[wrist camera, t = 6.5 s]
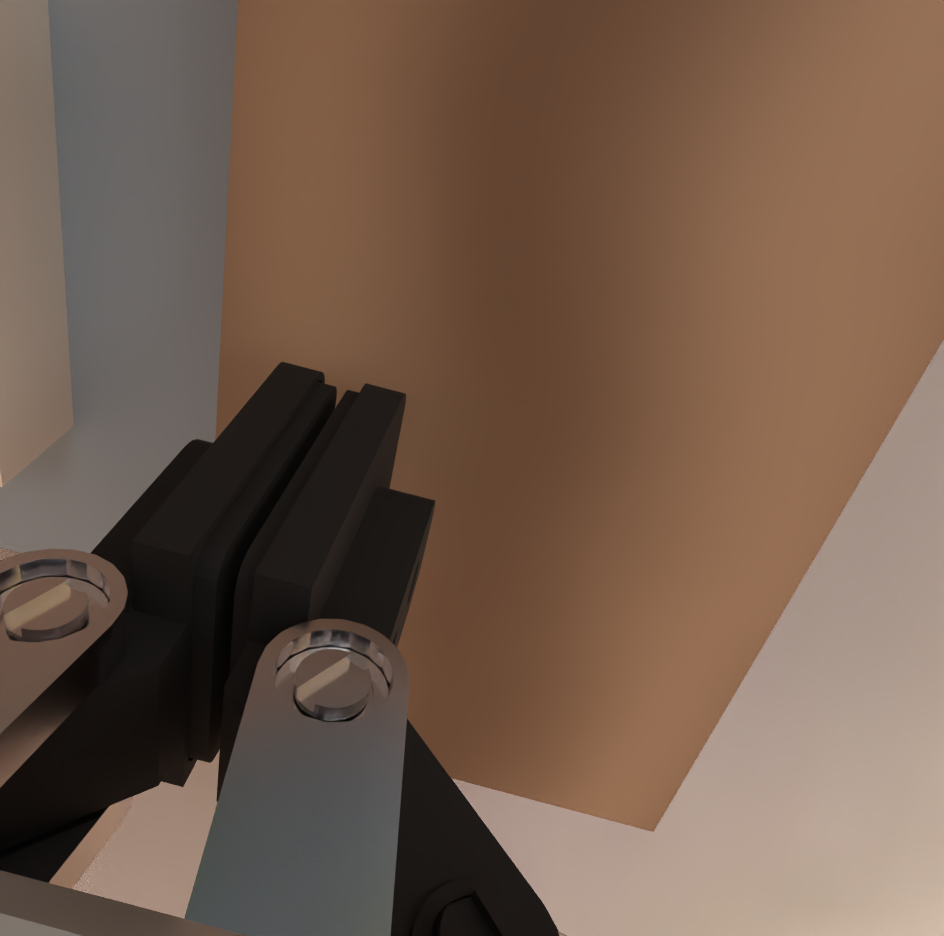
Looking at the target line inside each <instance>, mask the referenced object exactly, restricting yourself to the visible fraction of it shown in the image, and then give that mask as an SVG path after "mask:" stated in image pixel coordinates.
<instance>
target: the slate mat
mask: <svg viewBox="0 0 944 936" xmlns="http://www.w3.org/2000/svg"><path fill="white" fill-rule="evenodd" d="M48 11H49V27H50V43H51V60H52V76H53V92H54V109H55V125H56V141H57V158H58V174H59V190H60V207H61V223H62V239H63V256H64V272H65V289H66V305H67V321H68V338H69V354H70V370H71V387H72V403H73V419H74V426H73V427H72V428H71V429H69V430H68V431H67V432H66V433H65V434H64V435H62V436H61V437H60V438H59V439H58V440H57V441H56V442H54V443H53V444H52V445H51V446H50V447H49V448H47V449H46V450H45V451H44V452H43V453H42V454H40V455H39V456H38V457H37V458H36V459H35V460H33V461H32V462H31V463H30V464H29V465H28V466H27V467H25V468H24V469H23V470H22V471H21V472H20V473H18V474H17V475H16V476H15V477H14V478H13V479H11V480H10V481H9V482H8V483H7V484H6V485H4V486H3V487H0V548H4V549H7V550H11V551H15V552H19V553H24V552H29V551H37V550H44V549H75V550H79V551H83V552H87V553H91V552H92V551H93V549H94V548H95V547H96V546H97V545H98V544H99V543H100V542H101V540H102V539H103V538H104V537H105V536H106V535H107V534H108V533H109V531H110V530H111V529H112V528H113V527H114V526H115V525H116V523H117V522H118V521H119V520H120V519H121V518H122V517H123V516H124V514H125V513H126V512H127V511H128V510H129V509H130V508H131V507H132V505H133V504H134V503H135V502H136V501H137V500H138V499H139V497H140V496H141V495H142V494H143V493H144V492H145V491H146V490H147V488H148V487H149V486H150V485H151V484H152V483H153V482H154V481H155V479H156V478H157V477H158V476H159V475H160V474H161V473H162V472H163V470H164V469H165V468H166V467H167V466H168V465H169V464H170V462H171V461H172V460H173V459H174V458H175V457H176V456H177V455H178V453H179V452H180V451H181V450H182V449H183V448H184V447H185V446H186V445H187V444H188V443H189V442H190V441H192V440H195V439H200V440H204V441H207V442H211V443H213V442H214V441H215V437H216V417H217V398H218V379H219V359H220V340H221V321H222V301H223V282H224V262H225V243H226V224H227V204H228V185H229V166H230V146H231V127H232V108H233V88H234V69H235V50H236V30H237V11H238V0H48Z"/></svg>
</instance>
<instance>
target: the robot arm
mask: <svg viewBox="0 0 944 936" xmlns="http://www.w3.org/2000/svg"><path fill="white" fill-rule="evenodd" d="M336 397H337V388H336V386H332V385H328V384H325V375H324V373H323V372H321V371H317V370H313V369H309V368H305V367H301V366H297V365H293V364H290V363H286V362H281V363H280V364H278V366H277V367H276V368H275V369H274V370H273V372H272V373H271V374H270V375H269V376H268V378H267V379H266V380H265V381H264V382H263V384H262V385H261V386H260V387H259V388H258V390H257V391H256V392H255V393H254V394H253V396H252V397H251V398H250V399H249V400H248V402H247V403H246V404H245V405H244V406H243V408H242V409H241V410H240V411H239V412H238V414H237V415H236V416H235V417H234V418H233V420H232V421H231V422H230V423H229V424H228V426H227V427H226V428H225V429H224V430H223V432H222V433H221V434H220V435H219V436H218V438H217V439H216V440H215V441H214V442H213V443H211V442H207V441H204V440H200V439H195V440H192V441H190V442H189V443H188V444H187V445H186V446H185V447H184V448H183V449H182V450H181V451H180V452H179V453H178V455H177V456H176V457H175V458H174V459H173V460H172V461H171V462H170V464H169V465H168V466H167V467H166V468H165V469H164V470H163V472H162V473H161V474H160V475H159V476H158V477H157V478H156V479H155V481H154V482H153V483H152V484H151V485H150V486H149V487H148V488H147V490H146V491H145V492H144V493H143V494H142V495H141V496H140V497H139V499H138V500H137V501H136V502H135V503H134V504H133V505H132V507H131V508H130V509H129V510H128V511H127V512H126V513H125V514H124V516H123V517H122V518H121V519H120V520H119V521H118V522H117V523H116V525H115V526H114V527H113V528H112V529H111V530H110V531H109V533H108V534H107V535H106V536H105V537H104V538H103V539H102V540H101V542H100V543H99V544H98V545H97V546H96V547H95V548H94V549H93V551H92V552H91V553H87V552H83V551H79V550H75V549H44V550H37V551H29V552H24V553H21V554H18V555H15V556H12V557H9V558H6V559H3V560H1V561H0V936H567V935H565V934H563V933H561V932H559V931H558V929H557V927H556V925H555V924H554V922H553V920H552V918H551V916H550V915H549V913H548V911H547V909H546V907H545V906H544V904H543V903H542V901H541V900H540V898H539V897H538V896H537V894H536V893H535V892H534V890H533V889H532V888H531V886H530V885H529V883H528V882H527V881H526V879H525V878H524V877H523V875H522V874H521V873H520V871H519V870H518V869H517V867H516V866H515V864H514V863H513V862H512V860H511V859H510V858H509V856H508V855H507V854H506V852H505V851H504V850H503V848H502V847H501V845H500V844H499V843H498V841H497V840H496V839H495V837H494V836H493V835H492V833H491V832H490V830H489V829H488V828H487V826H486V825H485V824H484V822H483V821H482V820H481V818H480V817H479V816H478V814H477V813H476V811H475V810H474V809H473V807H472V806H471V805H470V803H469V802H468V801H467V799H466V798H465V796H464V795H463V794H462V792H461V791H460V790H459V788H458V787H457V786H456V784H455V783H454V782H453V780H452V779H451V777H450V776H449V775H448V773H447V772H446V771H445V769H444V768H443V767H442V765H441V764H440V763H439V761H438V760H437V758H436V757H435V756H434V754H433V753H432V752H431V750H430V749H429V748H428V746H427V745H426V743H425V742H424V741H423V739H422V738H421V737H420V735H419V734H418V733H417V731H416V730H415V729H414V727H413V726H412V724H411V723H410V722H409V720H408V719H407V710H408V697H409V675H408V667H407V664H406V662H405V660H404V659H403V657H402V655H401V653H400V651H399V649H398V648H397V646H398V643H399V640H400V637H401V633H402V630H403V627H404V624H405V620H406V617H407V614H408V611H409V607H410V604H411V600H412V597H413V593H414V590H415V586H416V583H417V579H418V575H419V571H420V568H421V564H422V560H423V556H424V552H425V547H426V543H427V539H428V535H429V530H430V526H431V522H432V517H433V513H434V508H435V500H431V499H427V498H424V497H420V496H416V495H412V494H408V493H404V492H400V491H397V490H393V489H389V488H390V483H391V478H392V472H393V467H394V462H395V457H396V452H397V446H398V441H399V436H400V431H401V425H402V420H403V415H404V410H405V404H406V393H402V392H398V391H394V390H390V389H386V388H382V387H379V386H375V385H371V384H367V383H365V385H364V386H363V387H362V389H361V391H360V393H359V392H355V391H351V390H347V391H346V392H345V393H344V395H343V397H342V398H341V400H340V402H339V403H338V405H337V406H336V408H335V405H336ZM219 749H220V757H219V772H218V788H217V802H218V803H217V807H216V810H215V814H214V817H213V821H212V824H211V828H210V831H209V835H208V838H207V842H206V845H205V849H204V852H203V856H202V859H201V863H200V866H199V870H198V873H197V877H196V880H195V884H194V887H193V890H192V894H191V897H190V901H189V904H188V908H187V911H186V915H185V918H184V919H182V918H178V917H175V916H171V915H167V914H164V913H160V912H156V911H152V910H149V909H145V908H141V907H137V906H134V905H130V904H126V903H123V902H119V901H115V900H111V899H107V898H104V897H100V896H96V895H92V894H88V893H85V892H81V891H77V890H73V889H72V888H73V887H74V885H75V884H76V883H77V881H78V880H79V879H80V878H81V876H82V875H83V874H84V872H85V871H86V870H87V868H88V867H89V866H90V864H91V863H92V862H93V860H94V859H95V858H96V857H97V855H98V854H99V853H100V851H101V850H102V849H103V847H104V846H105V845H106V843H107V842H108V841H109V840H110V838H111V837H112V836H113V834H114V833H115V832H116V830H117V829H118V828H119V826H120V825H121V824H122V822H123V820H124V818H125V816H126V815H127V813H128V811H129V809H130V807H131V802H132V797H133V796H134V795H137V794H139V793H142V792H144V791H146V790H149V789H151V788H154V787H156V786H158V785H159V784H160V782H161V781H162V782H166V783H170V784H174V785H178V786H182V787H183V786H184V784H185V782H186V780H187V778H188V777H189V775H190V773H191V771H192V769H193V767H194V765H195V763H196V761H197V760H201V761H205V762H209V763H210V762H212V761H213V759H214V758H215V756H216V755H217V753H218V751H219Z"/></svg>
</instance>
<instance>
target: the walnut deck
mask: <svg viewBox="0 0 944 936" xmlns="http://www.w3.org/2000/svg"><path fill="white" fill-rule="evenodd" d="M943 339H944V0H238V11H237V30H236V50H235V69H234V88H233V108H232V127H231V146H230V166H229V185H228V204H227V224H226V243H225V262H224V282H223V301H222V321H221V340H220V359H219V379H218V398H217V417H216V437H215V440H216V439H217V438H218V436H219V435H220V434H221V433H222V432H223V430H224V429H225V428H226V427H227V426H228V424H229V423H230V422H231V421H232V420H233V418H234V417H235V416H236V415H237V414H238V412H239V411H240V410H241V409H242V408H243V406H244V405H245V404H246V403H247V402H248V400H249V399H250V398H251V397H252V396H253V394H254V393H255V392H256V391H257V390H258V388H259V387H260V386H261V385H262V384H263V382H264V381H265V380H266V379H267V378H268V376H269V375H270V374H271V373H272V372H273V370H274V369H275V368H276V367H277V366H278V364H280V363H281V362H286V363H290V364H293V365H297V366H301V367H305V368H309V369H313V370H317V371H321V372H323V373H324V375H325V384H328V385H332V386H336V388H337V397H336V405H335V408H336V406H337V405H338V403H339V402H340V400H341V398H342V397H343V395H344V393H345V392H346V391H347V390H351V391H355V392H359V393H360V391H361V389H362V387H363V386H364V385H365V383H367V384H371V385H375V386H379V387H382V388H386V389H390V390H394V391H398V392H402V393H406V404H405V410H404V415H403V420H402V425H401V431H400V436H399V441H398V446H397V452H396V457H395V462H394V467H393V472H392V478H391V483H390V488H389V489H393V490H397V491H400V492H404V493H408V494H412V495H416V496H420V497H424V498H427V499H431V500H435V508H434V513H433V517H432V522H431V526H430V530H429V535H428V539H427V543H426V547H425V552H424V556H423V560H422V564H421V568H420V571H419V575H418V579H417V583H416V586H415V590H414V593H413V597H412V600H411V604H410V607H409V611H408V614H407V617H406V620H405V624H404V627H403V630H402V633H401V637H400V640H399V643H398V646H397V648H398V649H399V651H400V653H401V655H402V657H403V659H404V660H405V662H406V664H407V667H408V675H409V697H408V710H407V719H408V720H409V722H410V723H411V724H412V726H413V727H414V729H415V730H416V731H417V733H418V734H419V735H420V737H421V738H422V739H423V741H424V742H425V743H426V745H427V746H428V748H429V749H430V750H431V752H432V753H433V754H434V756H435V757H436V758H437V760H438V761H439V763H440V764H441V765H442V767H443V768H444V769H445V771H446V772H447V773H448V775H449V776H450V777H451V778H453V779H457V780H461V781H465V782H468V783H472V784H476V785H480V786H484V787H487V788H491V789H495V790H499V791H502V792H506V793H510V794H514V795H517V796H521V797H525V798H529V799H532V800H536V801H540V802H544V803H547V804H551V805H555V806H559V807H562V808H566V809H570V810H574V811H577V812H581V813H585V814H589V815H592V816H596V817H600V818H604V819H607V820H611V821H615V822H619V823H622V824H626V825H630V826H634V827H638V828H641V829H645V830H649V831H653V832H654V830H655V828H656V826H657V825H658V823H659V821H660V820H661V818H662V816H663V815H664V813H665V811H666V809H667V808H668V806H669V804H670V803H671V801H672V799H673V798H674V796H675V794H676V792H677V791H678V789H679V787H680V786H681V784H682V782H683V781H684V779H685V777H686V775H687V774H688V772H689V770H690V769H691V767H692V765H693V764H694V762H695V760H696V759H697V757H698V755H699V753H700V752H701V750H702V748H703V747H704V745H705V743H706V742H707V740H708V738H709V736H710V735H711V733H712V731H713V730H714V728H715V726H716V725H717V723H718V721H719V719H720V718H721V716H722V714H723V713H724V711H725V709H726V708H727V706H728V704H729V702H730V701H731V699H732V697H733V696H734V694H735V692H736V691H737V689H738V687H739V686H740V684H741V682H742V680H743V679H744V677H745V675H746V674H747V672H748V670H749V669H750V667H751V665H752V663H753V662H754V660H755V658H756V657H757V655H758V653H759V652H760V650H761V648H762V646H763V645H764V643H765V641H766V640H767V638H768V636H769V635H770V633H771V631H772V629H773V628H774V626H775V624H776V623H777V621H778V619H779V618H780V616H781V614H782V613H783V611H784V609H785V607H786V606H787V604H788V602H789V601H790V599H791V597H792V596H793V594H794V592H795V590H796V589H797V587H798V585H799V584H800V582H801V580H802V579H803V577H804V575H805V573H806V572H807V570H808V568H809V567H810V565H811V563H812V562H813V560H814V558H815V557H816V555H817V553H818V551H819V550H820V548H821V546H822V545H823V543H824V541H825V540H826V538H827V536H828V534H829V533H830V531H831V529H832V528H833V526H834V524H835V523H836V521H837V519H838V517H839V516H840V514H841V512H842V511H843V509H844V507H845V506H846V504H847V502H848V500H849V499H850V497H851V495H852V494H853V492H854V490H855V489H856V487H857V485H858V484H859V482H860V480H861V478H862V477H863V475H864V473H865V472H866V470H867V468H868V467H869V465H870V463H871V461H872V460H873V458H874V456H875V455H876V453H877V451H878V450H879V448H880V446H881V444H882V443H883V441H884V439H885V438H886V436H887V434H888V433H889V431H890V429H891V427H892V426H893V424H894V422H895V421H896V419H897V417H898V416H899V414H900V412H901V411H902V409H903V407H904V405H905V404H906V402H907V400H908V399H909V397H910V395H911V394H912V392H913V390H914V388H915V387H916V385H917V383H918V382H919V380H920V378H921V377H922V375H923V373H924V371H925V370H926V368H927V366H928V365H929V363H930V361H931V360H932V358H933V356H934V354H935V353H936V351H937V349H938V348H939V346H940V344H941V343H942V341H943Z"/></svg>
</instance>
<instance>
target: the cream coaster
mask: <svg viewBox="0 0 944 936" xmlns="http://www.w3.org/2000/svg"><path fill="white" fill-rule="evenodd" d="M73 426H74V419H73V403H72V387H71V370H70V354H69V338H68V321H67V305H66V289H65V272H64V256H63V239H62V223H61V207H60V190H59V174H58V158H57V141H56V125H55V109H54V92H53V76H52V60H51V43H50V27H49V11H48V0H0V487H3V486H4V485H6V484H7V483H8V482H9V481H10V480H11V479H13V478H14V477H15V476H16V475H17V474H18V473H20V472H21V471H22V470H23V469H24V468H25V467H27V466H28V465H29V464H30V463H31V462H32V461H33V460H35V459H36V458H37V457H38V456H39V455H40V454H42V453H43V452H44V451H45V450H46V449H47V448H49V447H50V446H51V445H52V444H53V443H54V442H56V441H57V440H58V439H59V438H60V437H61V436H62V435H64V434H65V433H66V432H67V431H68V430H69V429H71V428H72V427H73Z"/></svg>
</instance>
